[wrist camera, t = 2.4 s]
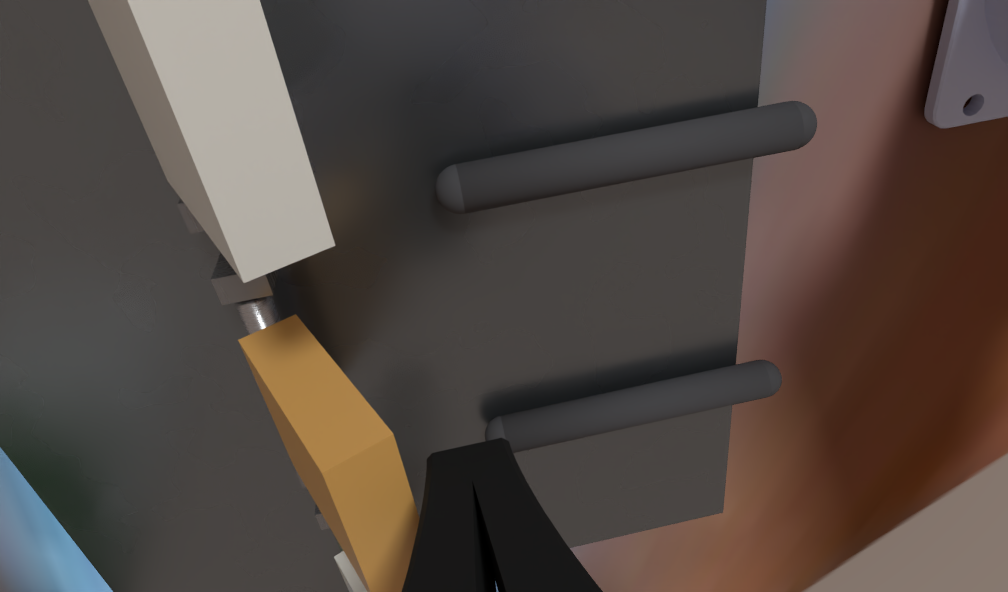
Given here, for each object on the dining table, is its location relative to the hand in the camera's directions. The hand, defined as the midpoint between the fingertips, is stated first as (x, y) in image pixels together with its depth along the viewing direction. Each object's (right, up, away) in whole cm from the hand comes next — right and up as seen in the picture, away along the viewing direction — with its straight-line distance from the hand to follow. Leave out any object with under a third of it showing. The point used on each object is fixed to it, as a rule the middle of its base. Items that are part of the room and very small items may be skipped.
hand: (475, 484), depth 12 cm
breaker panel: (-3, +3, +5) cm, 7 cm away
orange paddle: (-4, +1, +3) cm, 5 cm away
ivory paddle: (-5, +7, -1) cm, 9 cm away
